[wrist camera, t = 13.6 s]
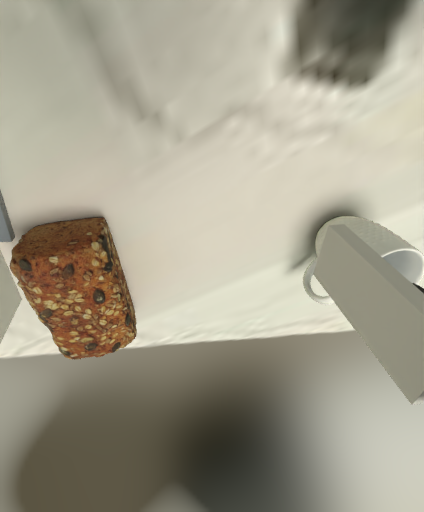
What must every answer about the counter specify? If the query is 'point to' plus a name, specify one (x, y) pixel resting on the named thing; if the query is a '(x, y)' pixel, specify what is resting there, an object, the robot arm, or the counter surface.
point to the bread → (76, 286)
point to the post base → (5, 224)
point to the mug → (380, 241)
